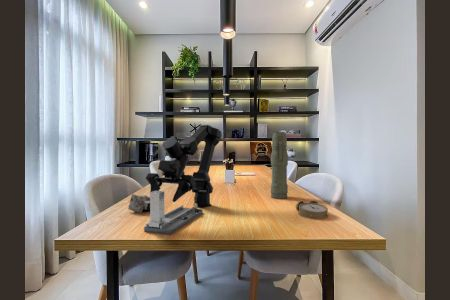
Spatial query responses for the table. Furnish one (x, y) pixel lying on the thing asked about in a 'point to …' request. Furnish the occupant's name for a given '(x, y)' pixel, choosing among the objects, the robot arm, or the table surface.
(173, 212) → the rail
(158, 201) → the block
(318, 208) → the alarm clock
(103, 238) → the table surface
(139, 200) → the caster wheel
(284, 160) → the thermos
